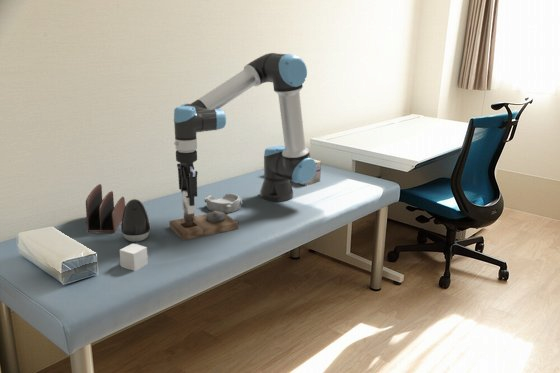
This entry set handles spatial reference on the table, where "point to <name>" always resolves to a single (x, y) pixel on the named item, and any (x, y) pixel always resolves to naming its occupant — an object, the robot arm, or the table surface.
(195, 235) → the plate
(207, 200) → the dish
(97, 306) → the table surface
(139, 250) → the white cube
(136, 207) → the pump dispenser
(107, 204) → the letter holder
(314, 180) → the surgical sutures box
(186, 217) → the pin
